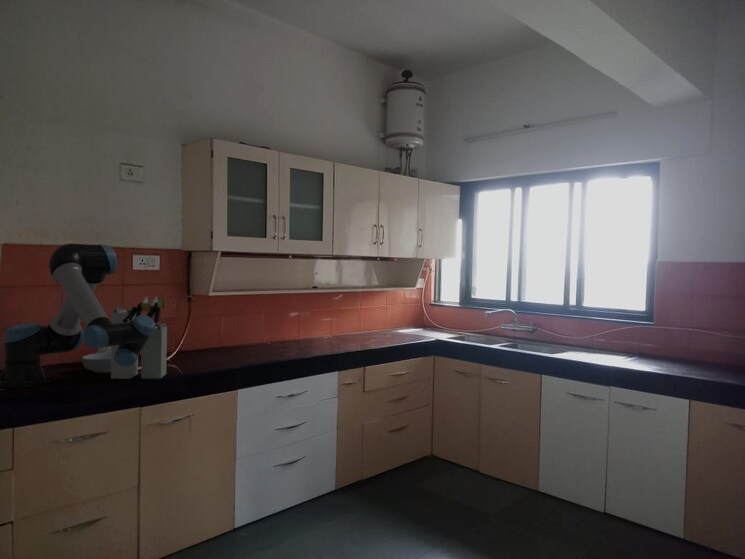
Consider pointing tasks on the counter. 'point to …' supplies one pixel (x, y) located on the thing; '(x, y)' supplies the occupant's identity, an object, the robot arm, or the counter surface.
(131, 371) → the block
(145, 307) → the brass pin
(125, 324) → the robot arm
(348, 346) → the counter surface
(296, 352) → the counter surface
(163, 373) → the upright grey pillar
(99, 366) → the cereal bowl
